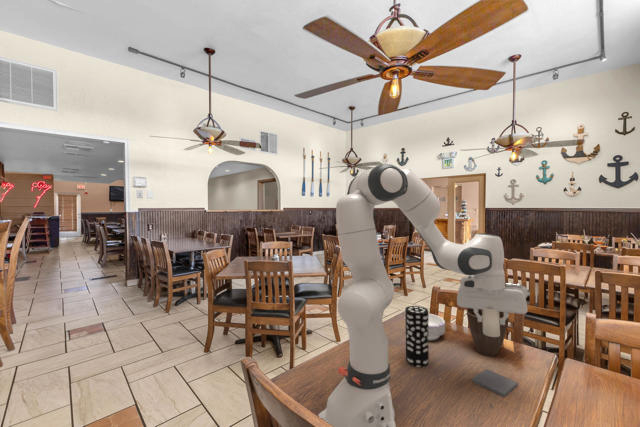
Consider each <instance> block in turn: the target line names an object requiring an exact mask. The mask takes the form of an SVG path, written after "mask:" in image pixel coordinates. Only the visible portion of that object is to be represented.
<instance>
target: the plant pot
mask: <svg viewBox="0 0 640 427" xmlns="http://www.w3.org/2000/svg"><path fill="white" fill-rule="evenodd" d="M465 310H466V316H467V322H468V326H469V331H470V334H471V337H472V340H473V343H474V346H475V349H476V351H477V352H478V353H480V354H482V355H485V356H489V357H490V356H491V357H493V356H497V355H498V354H499V351H500V349H501V347H502V346H503V342H504V339H505V337H506V334H507V333H506V332H507V329H508V324H509V318H510V315H509V316H508V317H507V319H506V320H505V325H500V336H499V337H490V336H486V335H484V334H483V323H482V322H478V317H477V316H476V314H475V313H474V309H473V308H466V309H465ZM478 313H479V315H480V316H482V309H478ZM503 316H504V313H503V312H500V311H499V317H500V318H503Z"/></svg>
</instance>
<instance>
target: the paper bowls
mask: <svg viewBox="0 0 640 427" xmlns="http://www.w3.org/2000/svg"><path fill="white" fill-rule="evenodd" d="M445 333H446V321H445V319H444V318H442V317H441V316H439V315H437V314H433V313H429V312H428V341H436V340H438V339H439V338H440V336H442V335H444V334H445Z"/></svg>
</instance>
